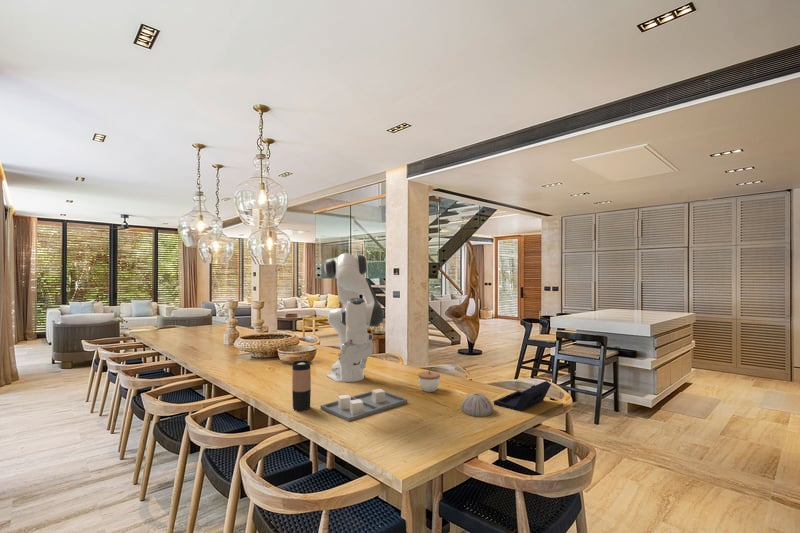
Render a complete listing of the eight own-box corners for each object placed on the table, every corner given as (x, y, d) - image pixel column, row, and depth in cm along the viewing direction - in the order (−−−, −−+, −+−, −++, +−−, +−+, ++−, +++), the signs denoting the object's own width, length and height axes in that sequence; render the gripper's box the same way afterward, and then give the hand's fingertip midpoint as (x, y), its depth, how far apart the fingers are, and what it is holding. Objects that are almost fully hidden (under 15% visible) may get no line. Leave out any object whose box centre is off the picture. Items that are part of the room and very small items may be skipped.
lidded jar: (439, 394, 190) (438, 374, 190) (416, 392, 193) (416, 373, 193) (441, 387, 201) (441, 368, 201) (420, 386, 203) (420, 367, 203)
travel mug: (289, 409, 171) (288, 362, 171) (304, 404, 176) (304, 359, 176) (298, 413, 165) (298, 365, 165) (314, 409, 171) (314, 362, 171)
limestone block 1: (338, 406, 172) (338, 395, 172) (348, 404, 173) (348, 394, 173) (340, 409, 167) (340, 398, 167) (351, 408, 169) (351, 397, 169)
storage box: (517, 395, 188) (517, 374, 188) (551, 404, 176) (551, 381, 176) (493, 406, 174) (493, 383, 174) (528, 416, 162) (528, 392, 162)
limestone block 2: (349, 411, 165) (349, 400, 165) (360, 409, 167) (359, 399, 167) (352, 415, 161) (352, 403, 161) (363, 413, 163) (363, 402, 163)
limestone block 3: (371, 400, 179) (371, 390, 179) (380, 398, 181) (380, 388, 181) (376, 403, 175) (376, 393, 175) (385, 401, 177) (385, 391, 177)
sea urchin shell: (492, 408, 171) (492, 390, 171) (494, 420, 157) (494, 400, 157) (461, 407, 173) (461, 388, 173) (460, 418, 160) (460, 398, 160)
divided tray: (320, 410, 169) (320, 405, 169) (378, 393, 191) (378, 389, 191) (348, 423, 155) (348, 418, 155) (407, 404, 177) (407, 399, 177)
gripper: (349, 343, 153) (349, 379, 154) (375, 334, 172) (375, 366, 172) (335, 342, 156) (336, 377, 156) (362, 333, 175) (362, 364, 175)
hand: (356, 371), depth 165 cm, fingers open, 8 cm apart
